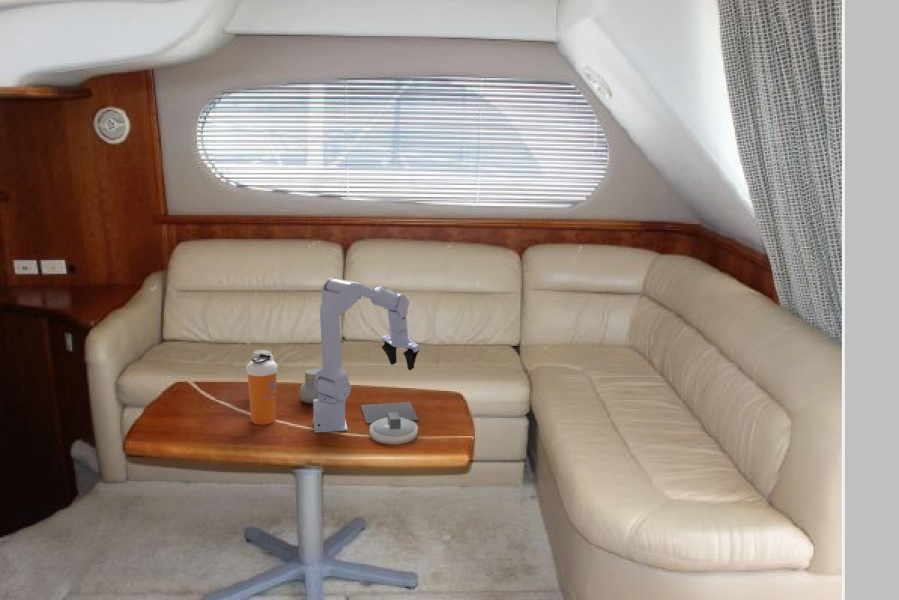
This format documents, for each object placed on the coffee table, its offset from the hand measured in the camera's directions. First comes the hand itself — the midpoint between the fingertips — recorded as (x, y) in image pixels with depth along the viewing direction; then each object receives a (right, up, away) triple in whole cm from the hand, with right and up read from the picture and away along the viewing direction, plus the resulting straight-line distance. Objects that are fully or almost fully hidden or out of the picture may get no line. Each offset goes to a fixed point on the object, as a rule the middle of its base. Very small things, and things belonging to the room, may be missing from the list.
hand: (402, 366), depth 238 cm
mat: (-3, -14, -11) cm, 18 cm away
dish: (-1, -17, -25) cm, 31 cm away
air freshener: (-28, -11, -3) cm, 30 cm away
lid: (-1, -15, -26) cm, 30 cm away
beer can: (-45, -10, 0) cm, 46 cm away
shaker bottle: (-41, -15, -19) cm, 47 cm away
